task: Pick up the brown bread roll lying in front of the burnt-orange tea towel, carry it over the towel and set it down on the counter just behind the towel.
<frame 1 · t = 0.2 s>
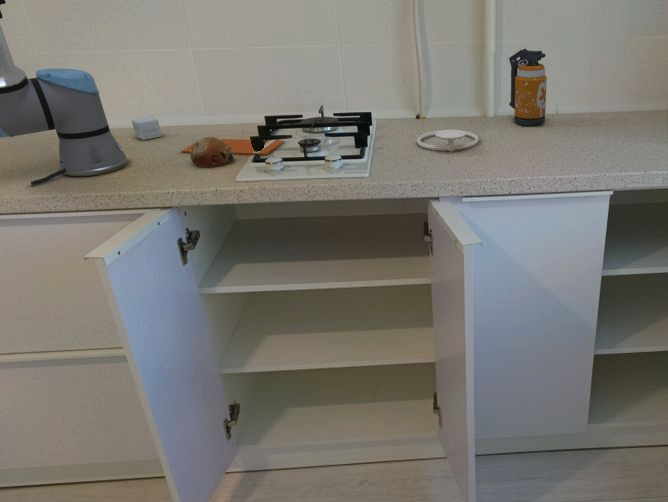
small box: (149, 137, 193), on the worktop
canister: (526, 123, 197), on the worktop
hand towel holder: (448, 144, 180), on the worktop
tea towel: (234, 147, 182), on the worktop
bread roll: (215, 162, 171), on the worktop
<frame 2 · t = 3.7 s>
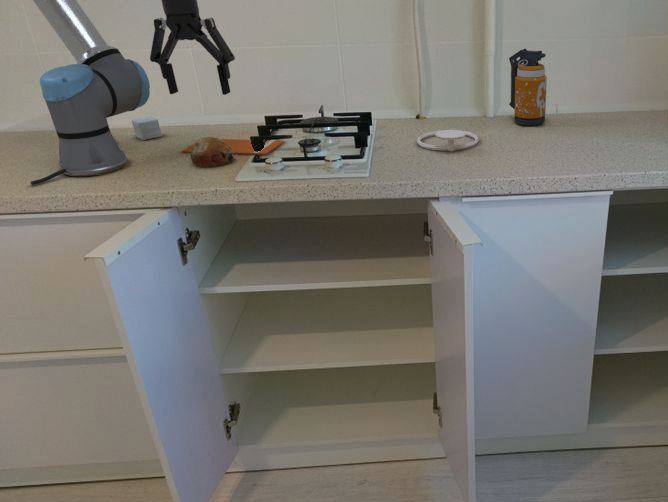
hand: (200, 93, 163), 17 cm above the worktop, tool pointing down, fingers open, 13 cm apart
nothing on the worktop moved.
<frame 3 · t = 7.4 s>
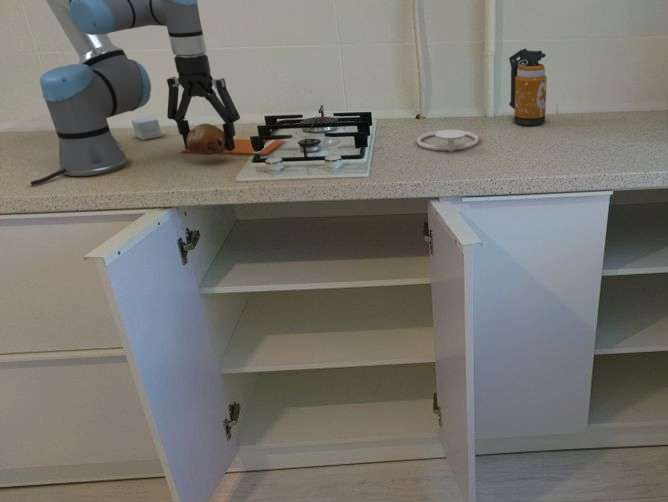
hand: (210, 148, 169), 3 cm above the worktop, tool pointing down, fingers closed on bread roll, 11 cm apart
bread roll: (211, 150, 170), point 3 cm above the worktop, touching gripper
everything else where it was.
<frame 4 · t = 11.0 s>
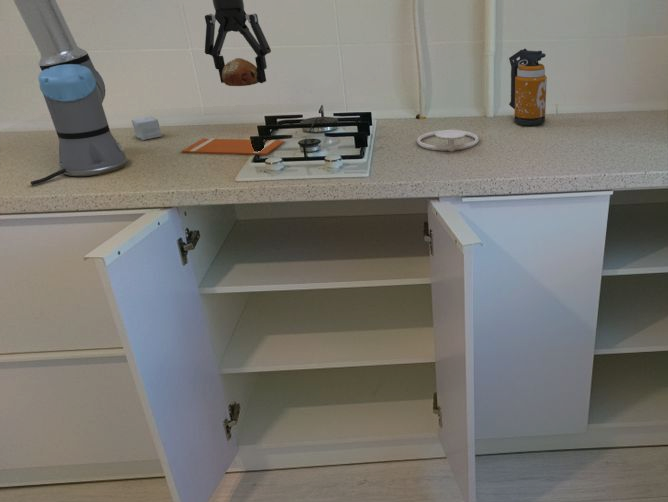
hand: (243, 82, 184), 14 cm above the worktop, tool pointing down, fingers closed on bread roll, 11 cm apart
bread roll: (244, 83, 185), point 14 cm above the worktop, touching gripper
everything else where it was.
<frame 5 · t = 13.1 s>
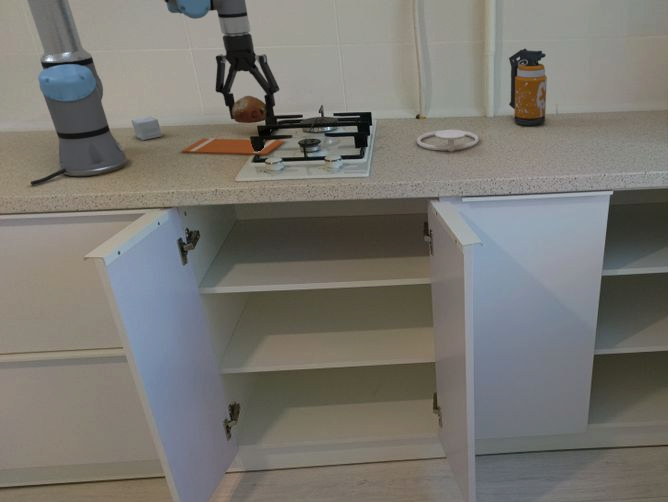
hand: (253, 118, 191), 4 cm above the worktop, tool pointing down, fingers closed on bread roll, 11 cm apart
bread roll: (253, 119, 192), point 4 cm above the worktop, touching gripper
everything else where it was.
when the fingers open (0 cm above the worktop, at t = 14.7 s): bread roll stays where it is, on the worktop.
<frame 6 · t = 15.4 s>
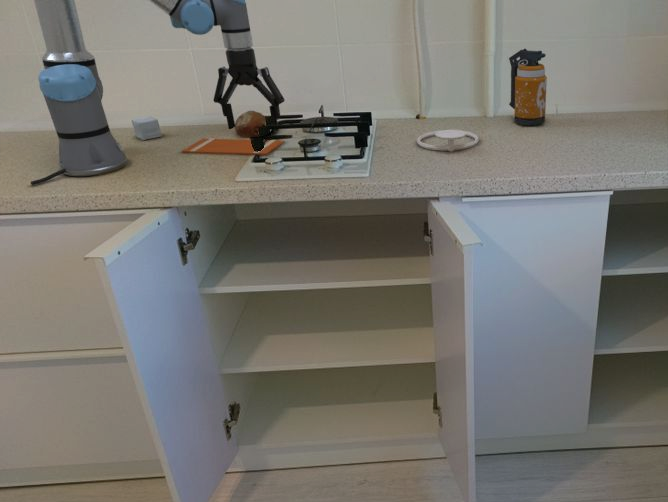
hand: (254, 128, 193), 1 cm above the worktop, tool pointing down, fingers open, 13 cm apart
bread roll: (256, 134, 194), on the worktop
everything else where it was.
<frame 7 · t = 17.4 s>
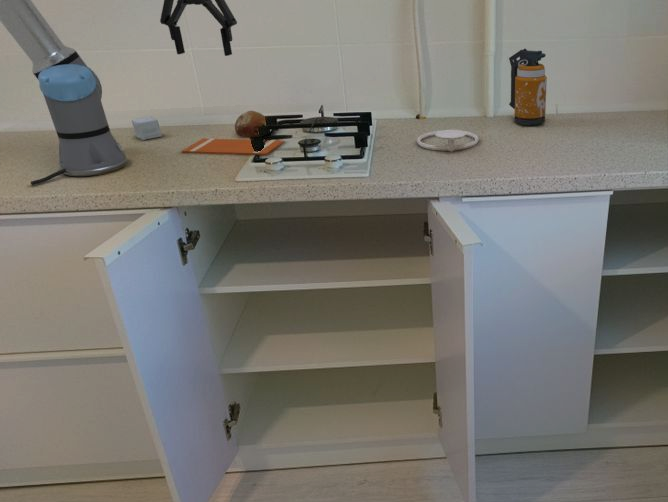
hand: (204, 54, 179), 22 cm above the worktop, tool pointing down, fingers open, 13 cm apart
nothing on the worktop moved.
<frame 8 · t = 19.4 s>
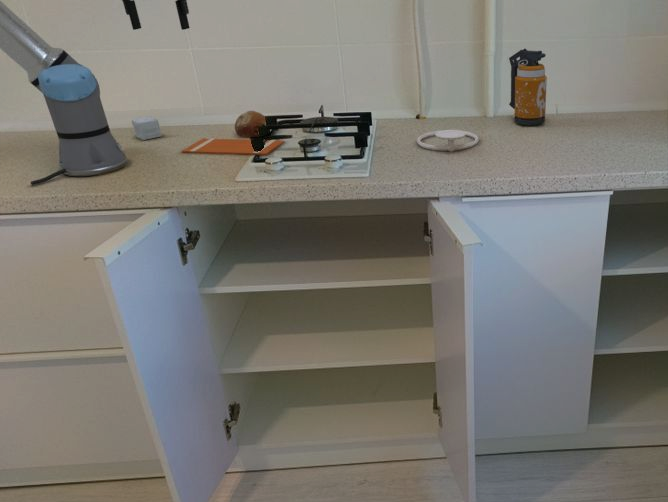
hand: (161, 29, 173), 29 cm above the worktop, tool pointing down, fingers open, 13 cm apart
nothing on the worktop moved.
at the end: bread roll inside the target area on the worktop beside the tea towel (0.5 cm from its centre), on the worktop; bread roll touching worktop; the gripper is holding nothing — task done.
